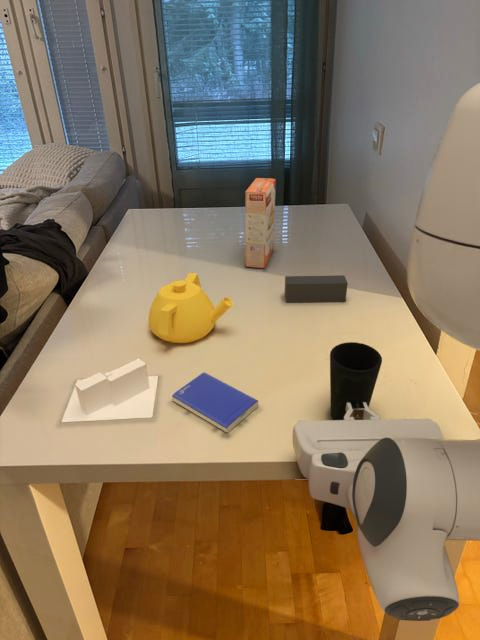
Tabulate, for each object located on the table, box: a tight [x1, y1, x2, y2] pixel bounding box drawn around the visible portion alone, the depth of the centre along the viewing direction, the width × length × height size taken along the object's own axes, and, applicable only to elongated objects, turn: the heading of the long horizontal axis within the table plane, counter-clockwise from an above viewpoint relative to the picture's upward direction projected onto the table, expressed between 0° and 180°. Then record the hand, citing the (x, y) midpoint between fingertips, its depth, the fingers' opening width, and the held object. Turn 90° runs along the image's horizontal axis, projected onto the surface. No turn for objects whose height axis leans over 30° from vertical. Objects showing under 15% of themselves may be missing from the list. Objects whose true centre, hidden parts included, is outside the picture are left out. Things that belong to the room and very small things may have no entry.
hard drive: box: [171, 372, 259, 434], centre depth 79 cm, size 2×8×12 cm
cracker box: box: [244, 177, 277, 269], centre depth 126 cm, size 14×6×21 cm, turn 167°
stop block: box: [284, 275, 349, 304], centre depth 110 cm, size 14×4×5 cm, turn 90°
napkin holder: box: [60, 358, 159, 423], centre depth 80 cm, size 15×11×6 cm
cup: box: [329, 341, 383, 420], centre depth 73 cm, size 8×8×12 cm
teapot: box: [148, 272, 234, 344], centre depth 97 cm, size 20×18×11 cm
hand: (355, 405), depth 70 cm, fingers closed, pressing on cup
